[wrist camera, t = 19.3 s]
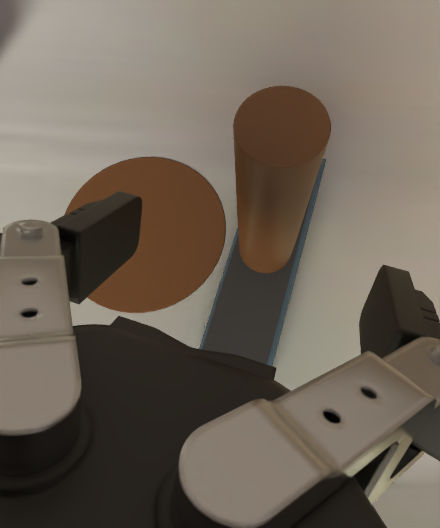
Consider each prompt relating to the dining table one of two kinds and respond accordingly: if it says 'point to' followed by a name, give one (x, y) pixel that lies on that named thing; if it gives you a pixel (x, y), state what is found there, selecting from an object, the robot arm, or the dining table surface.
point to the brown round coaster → (160, 233)
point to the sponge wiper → (268, 218)
